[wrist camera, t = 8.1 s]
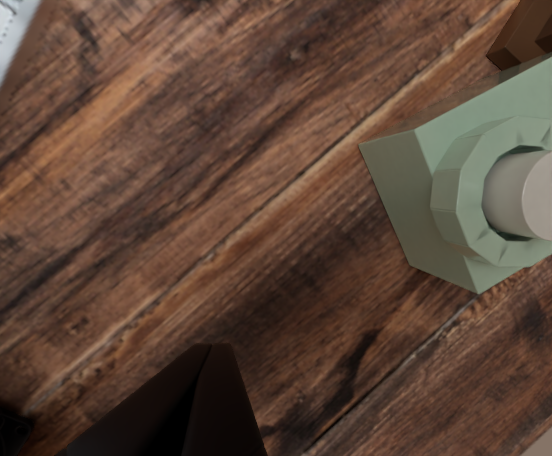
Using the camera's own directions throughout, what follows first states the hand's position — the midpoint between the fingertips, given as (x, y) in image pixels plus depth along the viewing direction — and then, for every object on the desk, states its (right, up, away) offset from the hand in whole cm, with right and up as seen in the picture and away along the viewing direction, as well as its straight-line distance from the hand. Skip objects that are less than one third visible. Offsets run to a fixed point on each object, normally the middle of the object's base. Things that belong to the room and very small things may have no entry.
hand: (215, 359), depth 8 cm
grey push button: (+12, +5, +7) cm, 15 cm away
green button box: (+13, +7, +15) cm, 21 cm away
